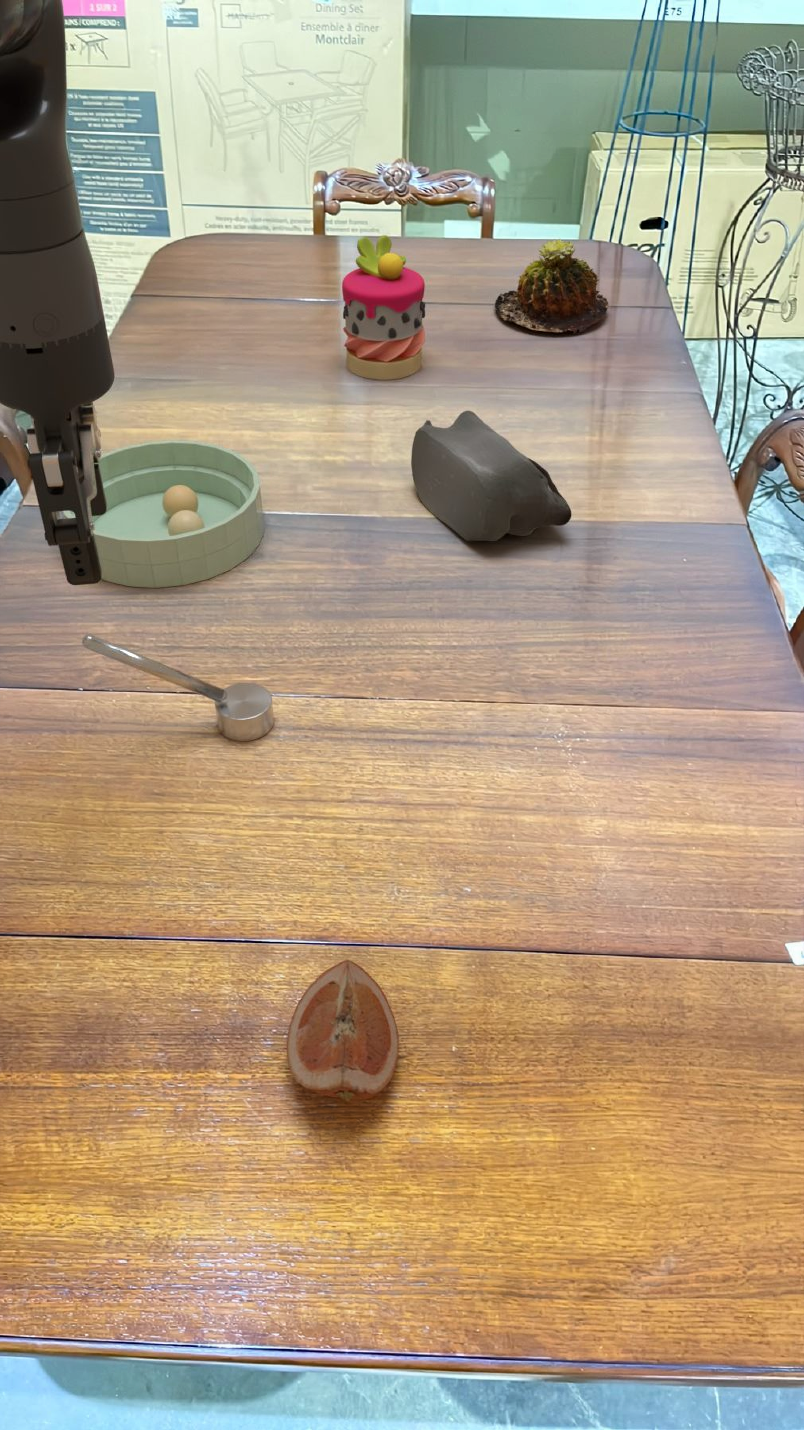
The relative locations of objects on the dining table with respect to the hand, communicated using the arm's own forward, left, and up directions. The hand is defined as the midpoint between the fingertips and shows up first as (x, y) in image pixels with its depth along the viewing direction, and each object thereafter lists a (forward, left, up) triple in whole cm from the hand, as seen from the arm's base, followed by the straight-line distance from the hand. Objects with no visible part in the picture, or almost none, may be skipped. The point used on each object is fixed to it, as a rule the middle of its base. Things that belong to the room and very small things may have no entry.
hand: (89, 546), depth 74 cm
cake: (+31, +68, -19) cm, 77 cm away
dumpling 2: (+5, +28, -18) cm, 33 cm away
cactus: (+57, +81, -19) cm, 101 cm away
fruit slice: (+13, -31, -19) cm, 39 cm away
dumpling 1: (+5, +33, -18) cm, 38 cm away
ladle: (+5, +1, -19) cm, 19 cm away
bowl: (+3, +30, -19) cm, 36 cm away
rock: (+36, +31, -19) cm, 51 cm away
